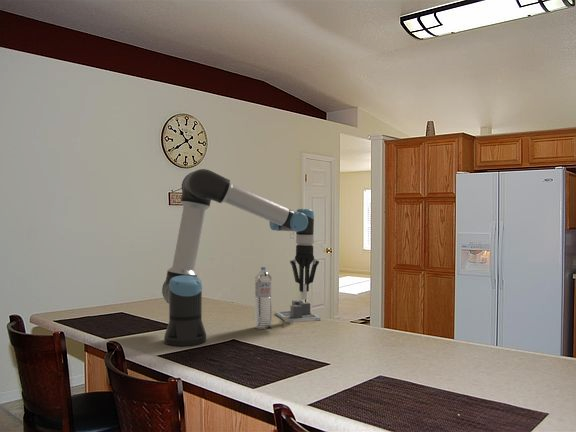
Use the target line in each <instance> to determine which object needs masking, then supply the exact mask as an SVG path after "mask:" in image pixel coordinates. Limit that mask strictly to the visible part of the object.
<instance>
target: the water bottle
mask: <svg viewBox="0 0 576 432" xmlns="http://www.w3.org/2000/svg"><path fill="white" fill-rule="evenodd" d="M260 269H261V270H260V271H259V272H258V273H257V274H256V276H255V278H254V279H255V280H254V282H255V283H254V285H255V287H254V288H255V290H254V291H255V293H254V294H255V297H254V327H255V328H256V329H258V330H269V329H271V328H272V327H271V325H272V323H273V322H272V316H273V315H272V309H273V308H272V306H273V305H272V302H273V301H272V300H273V299H272V275H270V273H269V272H268V271H266V266H262V267H260Z"/></svg>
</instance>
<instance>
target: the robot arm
mask: <svg viewBox="0 0 576 432" xmlns="http://www.w3.org/2000/svg"><path fill="white" fill-rule="evenodd" d="M212 201H213V202H215V203H219V204H222V203H225V204H227V205H231V206H233V207H235V208H237V209H240V210H242V211H244V212H247V213H249V214H252V215H254V216H257V217H260V218H261V219H264V220H266V221H268V222H269V227H270V229H271V230H272V231H276V232H279V231H280V232H281V231H283V232H284V231H285V232H296V233H295V234H296V235H295V237H296V239H295V243H296V246H295V256H294V259H292V260H290V261H289V263H290V265H291V268H292V272H293V277H294V281H295V283H298V284H299V292H301V294H300V295H301V296H300V297H301V300H302V301H303V300H305V301H307V292H309V291H310V287H309V286H310V284H312V283H314V279H315V275H316V270H317V266H318V265H319V263H320V261H319V260H317V259H315V256H314V245H313V244H314V232H315V231H314V229H315V228H314V227H315V215H314V210H313V209H310V208H297V209H296V211H294V210H292V209H289V208H287V207H285V206H283V205H282V204H279V203H276V202H275V201H272V200H269V199H267V198H265V197H263V196H260V195H258V194H256V193H253V192H252V191H249V190H246V189H245V188H243V187H240V186H238V185H236V184H233V182H232V181H231V179H229V178H226V177H225V176H222V175H220V174H218V173H216V172H214V171H212V170H209V169H206V168H201V169H196V170H195V171H192V172H188V174H186V176H184V178H183V180H182V183H181V199H180V204H181V205H182V206H183V207H182V213H181V219H180V223H179V224H180V225H179V229H178V234H177V241H176V244H175V245H176V246H175V250H174V256H173V257H174V258H173V262H172V266H171V267H170V268H169V269H167V273H166V278H165V280H164V283H163V284H162V287H161V293H162V296H163V298H164V300H165V302H166V303H167V304H168V305H169V307H168V309H169V310H168V311H169V312H168V316H169V317H168V318H169V319H168V324H167V327H166V330H165V334H164V337H163V338H164V339H163V342H164V344H166V345H167V346H173V347H174V346H176V347H187V346H196V345H197V346H198V345H201V344H203V343H206V341H207V331H206V330H205V326H204V322H203V319H202V318H203V317H202V315H203V314H202V308H203V307H202V305H203V304H202V302H203V300H202V299H203V298H202V295H203V294H202V293H203V292H202V291H203V285H202V280H201V278H199V276H198V273H197V272H196V271H195V267H196V262H197V256H198V251H199V245H200V239H201V234H202V230H203V224H204V218H205V212H206V210H208V209H209V208H210V207H211V202H212ZM297 264H298V268H299V269H298V268H297ZM311 264H312V266H311ZM310 267H311V269H310ZM298 270H299V272H298Z"/></svg>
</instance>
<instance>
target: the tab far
mask: <svg viewBox="0 0 576 432" xmlns="http://www.w3.org/2000/svg"><path fill="white" fill-rule="evenodd" d="M303 302H304V301H303V300H302V299H301V300H300V299H299V300H291V305H299V303H303Z"/></svg>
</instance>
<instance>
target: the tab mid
mask: <svg viewBox="0 0 576 432" xmlns="http://www.w3.org/2000/svg"><path fill="white" fill-rule="evenodd" d="M299 305H300V306H302V315H310V312H311V303H310V302H307V301H303V303H299Z"/></svg>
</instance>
